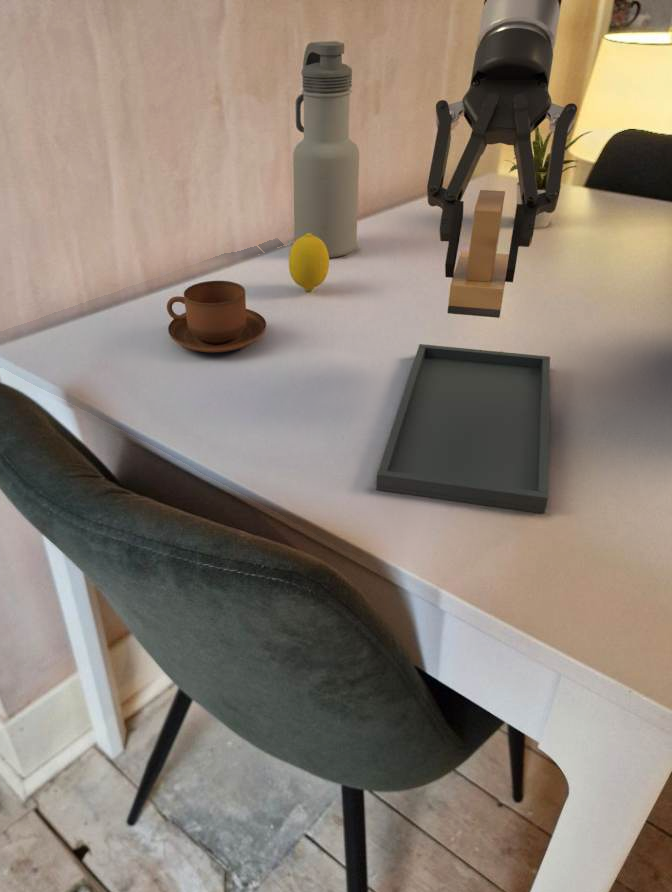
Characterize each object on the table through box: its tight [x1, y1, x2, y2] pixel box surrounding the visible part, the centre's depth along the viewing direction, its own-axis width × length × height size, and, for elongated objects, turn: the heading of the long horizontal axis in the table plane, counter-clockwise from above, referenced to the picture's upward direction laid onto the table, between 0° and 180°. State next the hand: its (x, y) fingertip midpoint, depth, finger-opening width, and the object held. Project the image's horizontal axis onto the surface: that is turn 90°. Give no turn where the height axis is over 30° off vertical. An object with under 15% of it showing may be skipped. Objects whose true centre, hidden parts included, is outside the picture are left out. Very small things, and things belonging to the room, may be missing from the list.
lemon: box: [288, 233, 330, 292], centre depth 104 cm, size 6×6×8 cm
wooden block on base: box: [447, 189, 509, 319], centre depth 75 cm, size 10×5×10 cm, turn 164°
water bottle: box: [292, 40, 360, 259], centre depth 112 cm, size 10×10×28 cm
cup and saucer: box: [166, 280, 267, 353], centre depth 93 cm, size 12×12×6 cm
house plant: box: [505, 126, 593, 229], centre depth 124 cm, size 14×14×16 cm
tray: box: [375, 343, 551, 514], centre depth 77 cm, size 28×15×2 cm, turn 164°
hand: (479, 273), depth 73 cm, fingers closed on wooden block on base, 5 cm apart
